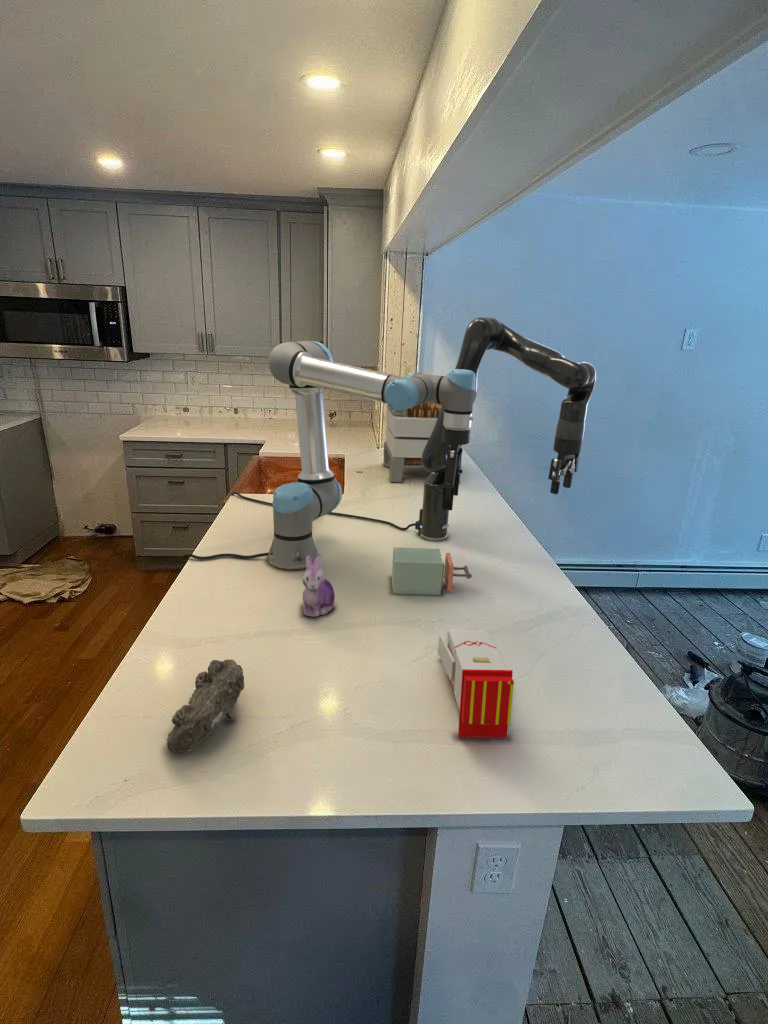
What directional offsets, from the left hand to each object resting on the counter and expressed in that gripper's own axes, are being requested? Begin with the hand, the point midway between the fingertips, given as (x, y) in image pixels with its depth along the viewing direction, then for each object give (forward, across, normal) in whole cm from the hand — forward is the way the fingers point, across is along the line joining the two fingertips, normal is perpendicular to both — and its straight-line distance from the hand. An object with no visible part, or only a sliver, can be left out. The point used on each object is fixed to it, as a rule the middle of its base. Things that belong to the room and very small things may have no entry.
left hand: (450, 502), depth 161 cm
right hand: (-4, +12, -30) cm, 33 cm away
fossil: (+24, -74, +34) cm, 85 cm away
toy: (+24, -52, -13) cm, 59 cm away
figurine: (+24, -30, +29) cm, 48 cm away
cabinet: (+24, -8, +7) cm, 26 cm away
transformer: (+24, +109, +27) cm, 115 cm away
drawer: (+23, -7, +1) cm, 24 cm away
